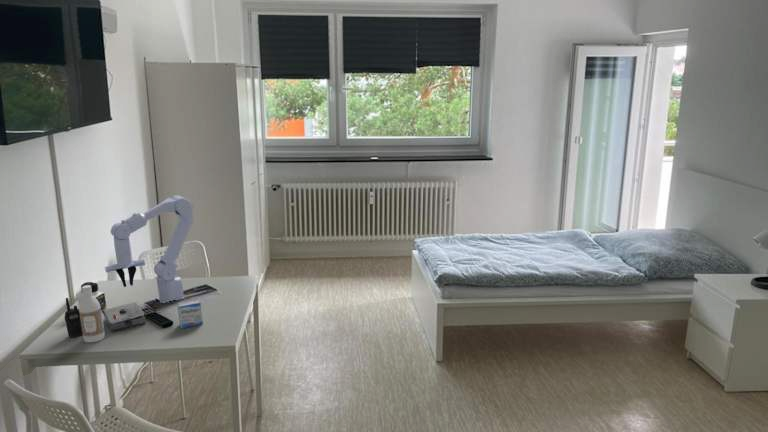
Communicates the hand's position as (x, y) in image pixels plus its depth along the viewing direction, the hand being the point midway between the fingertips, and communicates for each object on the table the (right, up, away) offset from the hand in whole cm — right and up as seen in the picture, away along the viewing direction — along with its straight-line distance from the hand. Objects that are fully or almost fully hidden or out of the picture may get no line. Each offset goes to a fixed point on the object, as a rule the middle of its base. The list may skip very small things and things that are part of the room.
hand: (128, 285), depth 237 cm
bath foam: (-1, -16, -25) cm, 30 cm away
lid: (+3, -9, -12) cm, 15 cm away
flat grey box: (+3, -13, -11) cm, 17 cm away
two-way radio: (-10, -16, -21) cm, 28 cm away
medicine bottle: (-14, -11, +1) cm, 18 cm away
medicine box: (+30, -13, -14) cm, 36 cm away
